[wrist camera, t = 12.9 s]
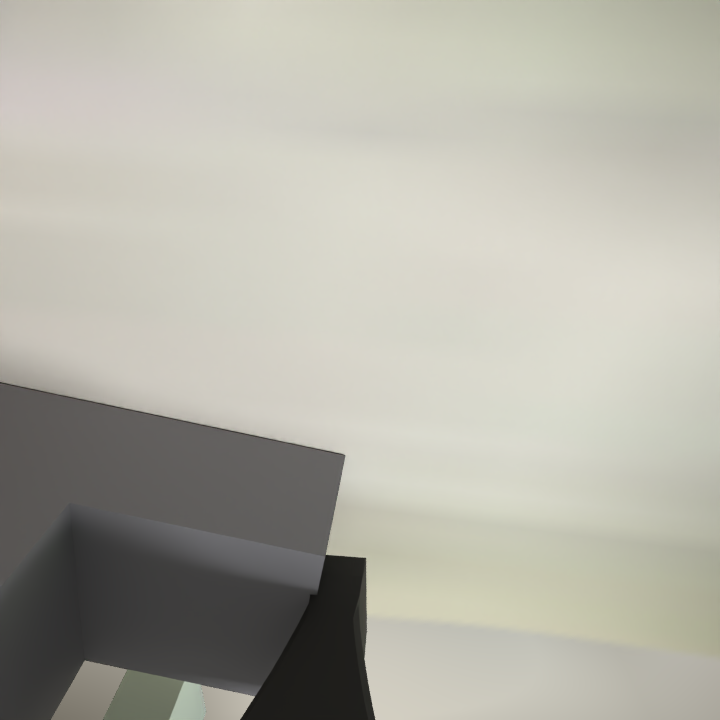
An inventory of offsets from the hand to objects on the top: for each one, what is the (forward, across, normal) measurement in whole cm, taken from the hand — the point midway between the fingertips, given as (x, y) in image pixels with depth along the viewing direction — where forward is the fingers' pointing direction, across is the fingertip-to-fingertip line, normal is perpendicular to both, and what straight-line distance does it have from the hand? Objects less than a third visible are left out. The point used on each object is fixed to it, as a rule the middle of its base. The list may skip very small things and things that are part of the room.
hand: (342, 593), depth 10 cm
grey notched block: (+1, +4, -1) cm, 5 cm away
